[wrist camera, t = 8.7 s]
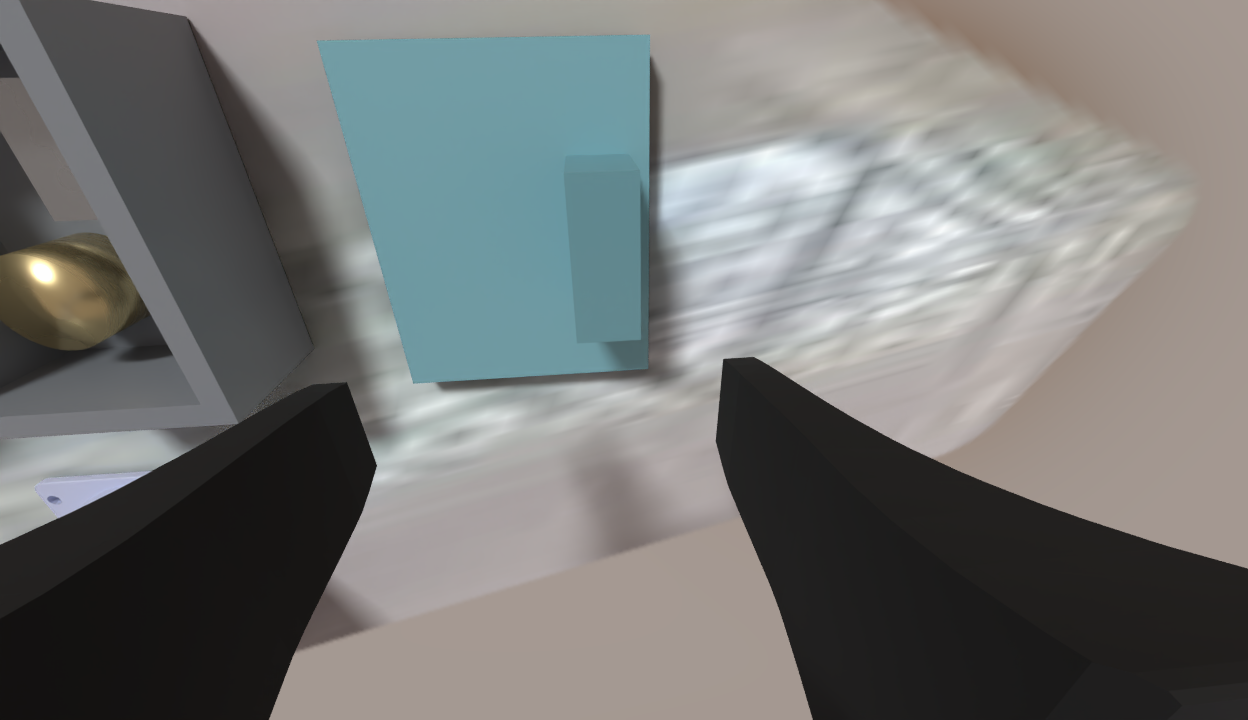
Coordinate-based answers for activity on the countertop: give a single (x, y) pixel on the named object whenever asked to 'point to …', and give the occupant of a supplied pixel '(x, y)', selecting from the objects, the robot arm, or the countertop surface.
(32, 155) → the steel block
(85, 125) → the tub
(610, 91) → the lid
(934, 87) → the countertop surface
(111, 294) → the brass knob
